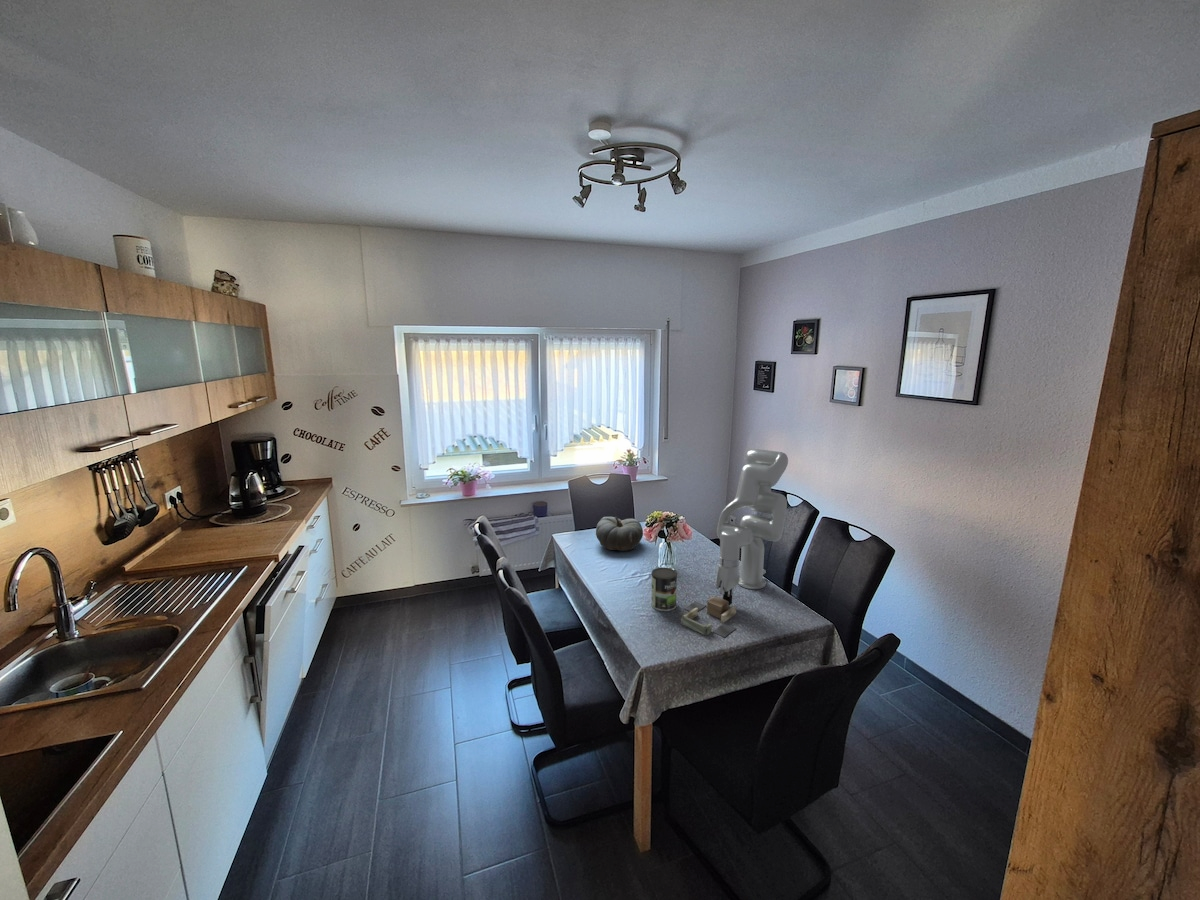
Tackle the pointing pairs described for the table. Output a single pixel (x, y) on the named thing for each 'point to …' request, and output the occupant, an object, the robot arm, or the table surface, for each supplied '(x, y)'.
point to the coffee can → (664, 589)
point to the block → (717, 606)
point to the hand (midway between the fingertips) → (727, 603)
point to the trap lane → (721, 630)
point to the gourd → (619, 533)
